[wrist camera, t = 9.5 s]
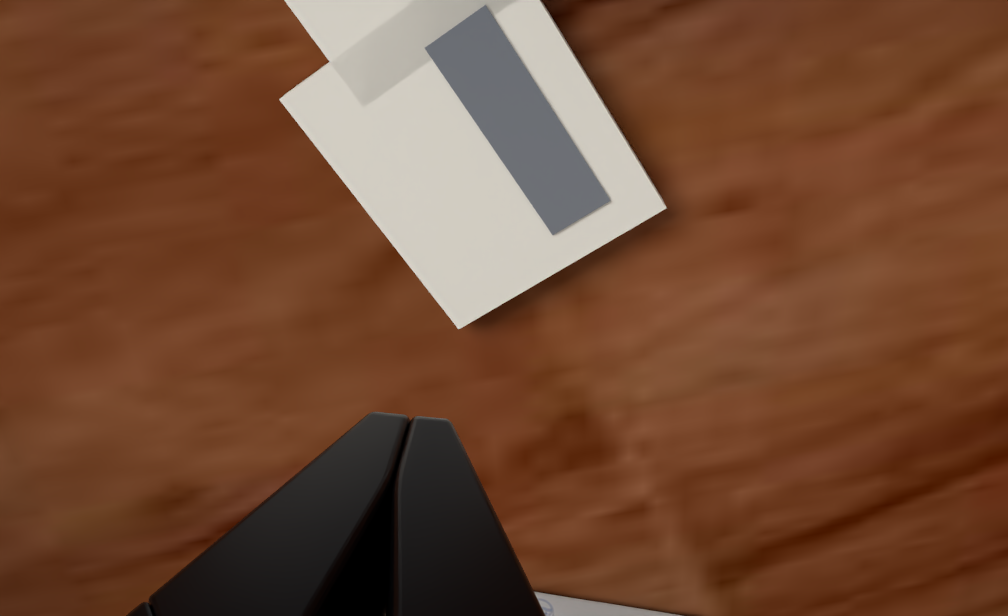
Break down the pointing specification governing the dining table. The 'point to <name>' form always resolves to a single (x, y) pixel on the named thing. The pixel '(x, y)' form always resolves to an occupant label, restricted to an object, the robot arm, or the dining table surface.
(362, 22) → the label plate
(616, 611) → the light bulb box
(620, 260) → the dining table surface
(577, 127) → the label plate
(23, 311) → the dining table surface
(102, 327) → the dining table surface
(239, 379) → the dining table surface
